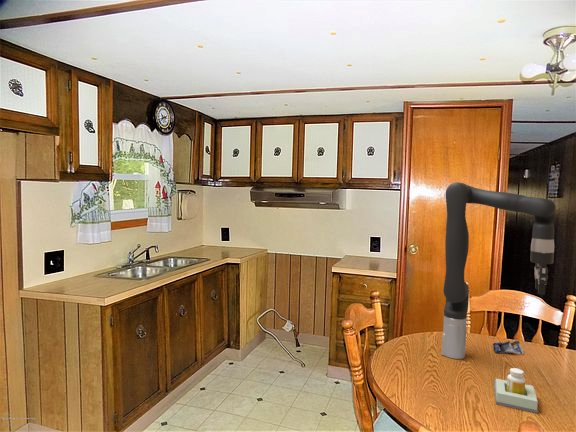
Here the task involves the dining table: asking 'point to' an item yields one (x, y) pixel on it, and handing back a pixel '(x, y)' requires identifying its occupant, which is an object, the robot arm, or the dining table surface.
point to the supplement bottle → (516, 381)
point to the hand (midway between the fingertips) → (540, 291)
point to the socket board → (515, 397)
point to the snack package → (508, 347)
